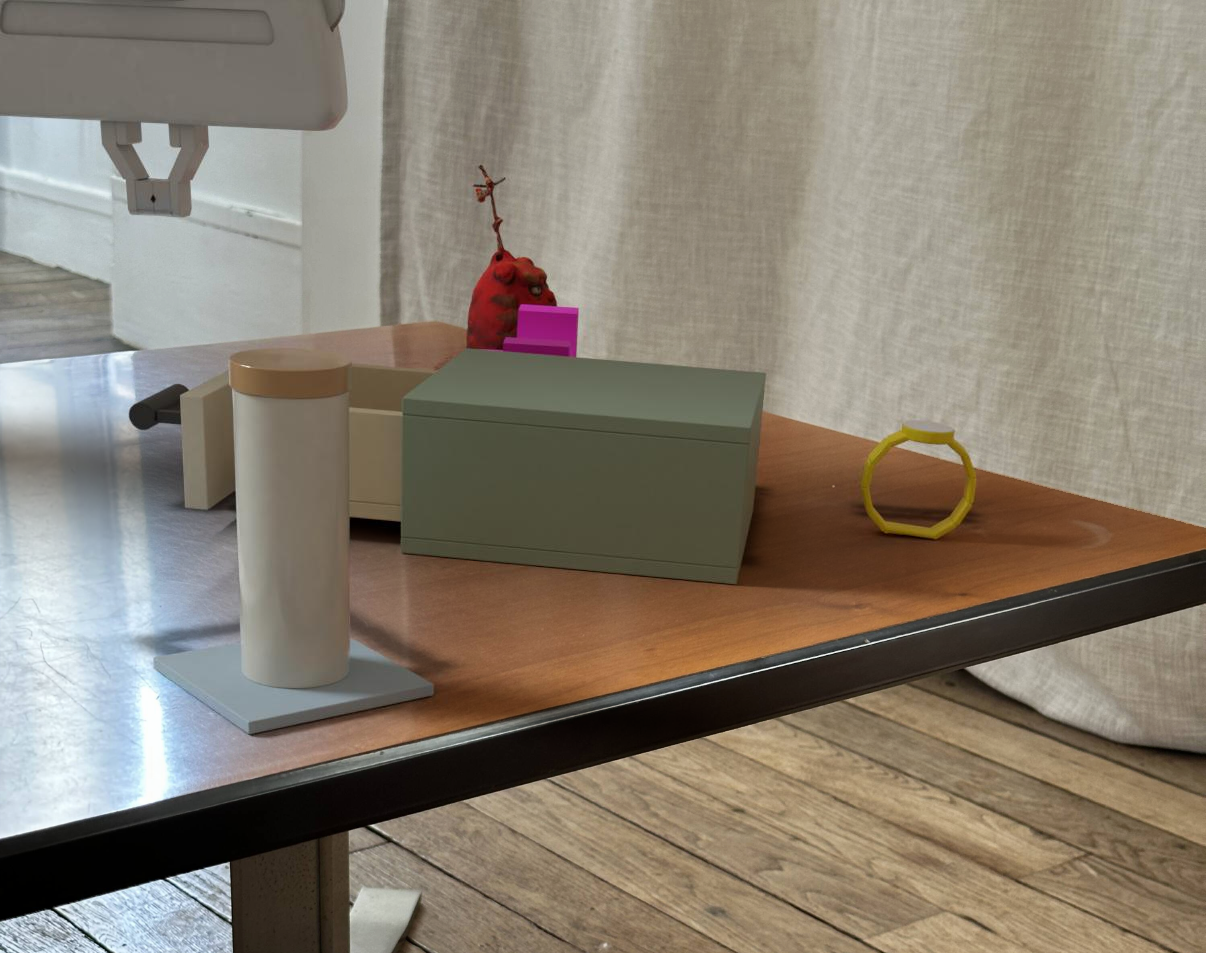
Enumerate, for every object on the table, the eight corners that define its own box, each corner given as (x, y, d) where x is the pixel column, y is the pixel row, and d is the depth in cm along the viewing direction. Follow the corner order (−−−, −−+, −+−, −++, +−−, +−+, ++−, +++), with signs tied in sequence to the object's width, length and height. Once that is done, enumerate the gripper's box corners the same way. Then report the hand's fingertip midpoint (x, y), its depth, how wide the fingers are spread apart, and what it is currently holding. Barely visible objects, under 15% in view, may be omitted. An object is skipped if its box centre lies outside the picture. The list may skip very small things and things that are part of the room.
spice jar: (223, 683, 65) (211, 364, 60) (259, 646, 69) (251, 344, 64) (335, 695, 65) (332, 374, 60) (365, 657, 69) (365, 353, 64)
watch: (857, 537, 91) (871, 426, 89) (853, 524, 94) (866, 416, 92) (969, 545, 91) (986, 434, 89) (962, 531, 94) (978, 423, 91)
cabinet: (400, 552, 84) (401, 397, 81) (462, 483, 97) (465, 347, 94) (736, 584, 82) (751, 427, 79) (753, 510, 96) (766, 372, 92)
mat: (248, 735, 62) (248, 722, 62) (153, 668, 68) (152, 656, 67) (434, 695, 67) (434, 683, 66) (330, 636, 72) (330, 625, 72)
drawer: (102, 504, 86) (94, 387, 83) (195, 447, 98) (191, 343, 95) (489, 539, 84) (492, 421, 81) (535, 477, 96) (540, 372, 94)
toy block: (479, 417, 114) (482, 301, 111) (573, 423, 114) (578, 307, 111) (456, 470, 100) (459, 340, 97) (563, 477, 100) (569, 346, 97)
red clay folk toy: (545, 399, 120) (554, 174, 114) (449, 390, 122) (453, 166, 115) (570, 381, 127) (580, 167, 121) (479, 372, 128) (485, 159, 122)
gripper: (360, -65, 87) (365, 220, 93) (-21, -78, 89) (7, 200, 95) (325, -72, 82) (333, 231, 87) (-80, -87, 84) (-47, 210, 89)
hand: (160, 215), depth 91 cm, fingers closed
